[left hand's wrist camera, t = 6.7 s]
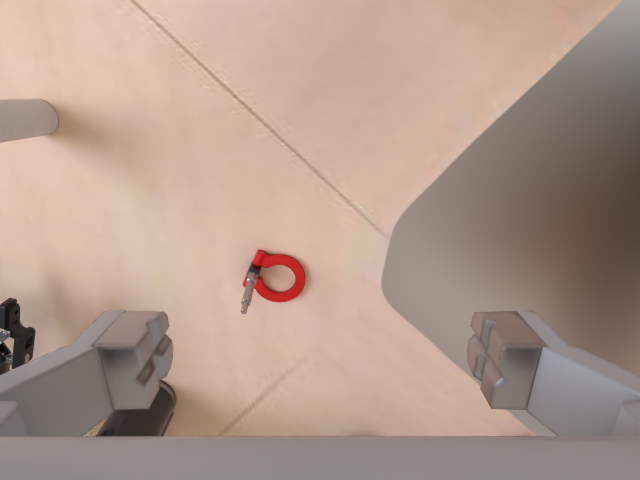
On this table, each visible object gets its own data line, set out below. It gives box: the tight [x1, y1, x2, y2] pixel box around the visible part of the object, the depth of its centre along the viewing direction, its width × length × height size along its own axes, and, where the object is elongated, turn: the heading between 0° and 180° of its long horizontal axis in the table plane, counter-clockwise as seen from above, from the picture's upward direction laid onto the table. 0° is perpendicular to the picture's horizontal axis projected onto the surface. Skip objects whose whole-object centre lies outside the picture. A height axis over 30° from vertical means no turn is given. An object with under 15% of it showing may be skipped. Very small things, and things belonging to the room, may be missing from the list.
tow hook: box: [241, 250, 305, 314], centre depth 57 cm, size 8×13×9 cm
